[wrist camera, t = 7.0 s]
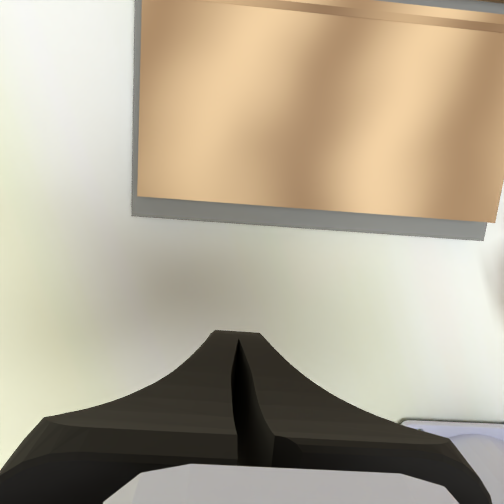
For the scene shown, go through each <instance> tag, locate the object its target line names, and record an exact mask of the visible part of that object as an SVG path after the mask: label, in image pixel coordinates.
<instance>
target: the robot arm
mask: <svg viewBox="0 0 504 504" xmlns="http://www.w3.org/2000/svg"><path fill="white" fill-rule="evenodd" d="M418 429H421V430H418ZM0 504H504V424H488V423H464V422H439V421H415V420H408V421H404V422H402V423H401V424H397V423H395V422H392V421H389V420H386V419H384V418H381V417H378V416H376V415H373V414H371V413H369V412H366V411H364V410H362V409H359V408H357V407H355V406H353V405H351V404H349V403H347V402H345V401H343V400H341V399H339V398H338V397H336V396H334V395H332V394H331V393H329V392H327V391H326V390H324V389H323V388H321V387H320V386H318V385H316V384H315V383H313V382H312V381H311V380H309V379H308V378H307V377H305V376H304V375H303V374H302V373H300V372H299V371H298V370H297V369H295V368H294V367H293V366H292V365H291V364H290V363H289V362H287V361H286V360H285V359H284V358H283V357H282V356H281V355H280V354H279V353H278V352H277V351H276V350H275V349H274V348H273V347H272V346H271V345H270V343H269V342H268V341H267V340H266V339H265V338H264V337H263V336H262V335H261V334H260V333H252V332H237V331H221V330H215V331H214V332H212V333H211V334H210V336H209V337H208V338H207V340H206V341H205V342H204V343H203V344H202V345H201V347H200V348H199V349H198V350H197V351H196V352H195V353H194V354H193V355H192V356H191V357H190V358H189V359H187V360H186V361H185V362H184V363H183V364H182V365H180V366H179V367H178V368H177V369H176V370H174V371H173V372H172V373H170V374H169V375H167V376H165V377H164V378H162V379H160V380H159V381H157V382H155V383H154V384H152V385H149V386H147V387H145V388H143V389H141V390H139V391H137V392H134V393H132V394H130V395H128V396H125V397H123V398H120V399H117V400H114V401H112V402H108V403H105V404H102V405H99V406H95V407H91V408H88V409H83V410H79V411H74V412H69V413H64V414H60V415H55V416H49V417H44V418H43V419H42V420H41V421H40V422H39V424H38V425H37V426H36V427H35V428H34V429H33V430H32V431H31V432H30V433H29V434H28V436H27V437H26V438H25V439H24V440H23V441H22V443H21V444H20V445H19V446H18V448H17V449H16V450H15V451H14V453H13V454H12V455H11V457H10V458H9V459H8V461H7V462H6V464H5V465H4V466H3V468H2V469H1V470H0Z"/></svg>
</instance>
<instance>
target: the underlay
mask: <svg viewBox="0 0 504 504" xmlns="http://www.w3.org/2000/svg"><path fill="white" fill-rule="evenodd" d="M376 1H386V2H395V3H404V4H413V5H422V6H431V7H440V8H449V9H459V10H468V11H477V12H486V13H495V14H504V3H495V2H486V1H477V0H376ZM141 13H142V0H135V24H134V89H133V155H132V216H139V217H153V218H167V219H181V220H196V221H210V222H224V223H238V224H252V225H266V226H280V227H294V228H308V229H322V230H336V231H350V232H364V233H378V234H392V235H406V236H420V237H434V238H448V239H462V240H476V241H484V236H485V231H486V226H487V222H476V221H463V220H449V219H436V218H422V217H409V216H396V215H382V214H369V213H355V212H342V211H328V210H315V209H302V208H288V207H275V206H261V205H248V204H234V203H221V202H207V201H194V200H181V199H167V198H154V197H140V196H137V183H138V141H139V98H140V56H141Z"/></svg>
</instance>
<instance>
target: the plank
mask: <svg viewBox="0 0 504 504" xmlns="http://www.w3.org/2000/svg"><path fill="white" fill-rule="evenodd" d="M503 180H504V14H495V13H486V12H477V11H468V10H459V9H449V8H440V7H431V6H422V5H413V4H404V3H395V2H386V1H376V0H142V13H141V56H140V98H139V141H138V183H137V196H140V197H154V198H167V199H181V200H194V201H207V202H221V203H234V204H248V205H261V206H275V207H288V208H302V209H315V210H328V211H342V212H355V213H369V214H382V215H396V216H409V217H422V218H436V219H449V220H463V221H476V222H490V223H495V220H496V215H497V210H498V205H499V200H500V195H501V190H502V185H503Z"/></svg>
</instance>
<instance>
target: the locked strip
mask: <svg viewBox="0 0 504 504" xmlns="http://www.w3.org/2000/svg"><path fill="white" fill-rule="evenodd" d="M477 1H486V2H495V3H504V0H477Z"/></svg>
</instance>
